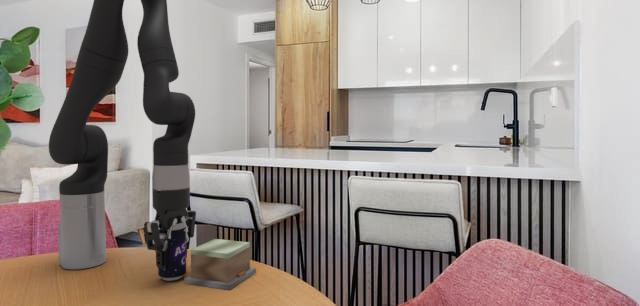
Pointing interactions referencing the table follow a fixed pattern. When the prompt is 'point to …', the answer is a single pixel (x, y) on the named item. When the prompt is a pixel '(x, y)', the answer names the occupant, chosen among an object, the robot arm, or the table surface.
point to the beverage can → (175, 253)
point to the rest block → (220, 264)
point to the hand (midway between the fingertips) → (172, 263)
